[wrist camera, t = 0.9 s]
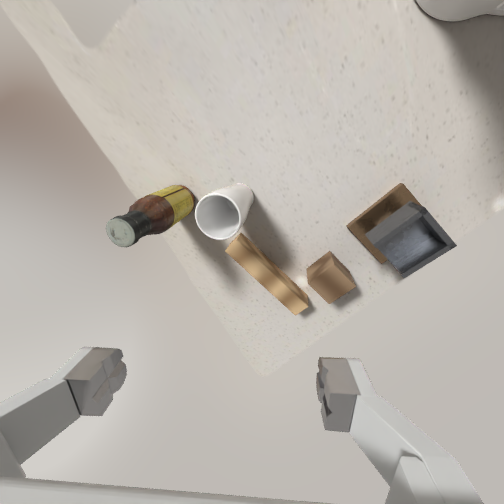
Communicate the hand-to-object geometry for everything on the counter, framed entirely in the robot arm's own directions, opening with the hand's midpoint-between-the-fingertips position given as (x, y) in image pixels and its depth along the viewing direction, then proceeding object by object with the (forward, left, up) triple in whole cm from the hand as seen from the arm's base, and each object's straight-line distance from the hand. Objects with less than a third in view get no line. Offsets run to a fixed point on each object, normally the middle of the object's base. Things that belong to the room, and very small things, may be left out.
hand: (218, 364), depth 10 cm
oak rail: (+13, +10, -39) cm, 42 cm away
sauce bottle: (+15, -13, -39) cm, 43 cm away
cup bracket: (-10, +18, -39) cm, 44 cm away
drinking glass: (+6, -5, -39) cm, 40 cm away
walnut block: (+4, +18, -39) cm, 43 cm away
